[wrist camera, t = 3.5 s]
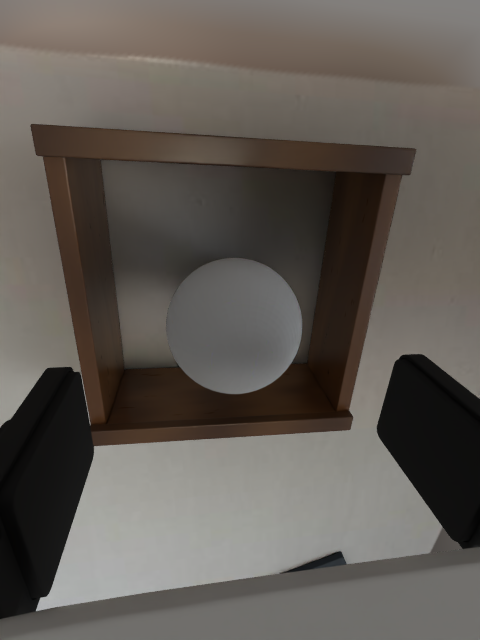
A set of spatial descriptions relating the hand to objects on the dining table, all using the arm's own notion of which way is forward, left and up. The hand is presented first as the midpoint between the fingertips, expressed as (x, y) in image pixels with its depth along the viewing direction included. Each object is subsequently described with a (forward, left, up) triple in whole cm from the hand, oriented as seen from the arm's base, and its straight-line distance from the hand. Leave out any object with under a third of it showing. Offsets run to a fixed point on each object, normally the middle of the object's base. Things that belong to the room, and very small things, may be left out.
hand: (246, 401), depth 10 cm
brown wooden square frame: (0, 0, -12) cm, 12 cm away
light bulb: (0, 0, -12) cm, 12 cm away
